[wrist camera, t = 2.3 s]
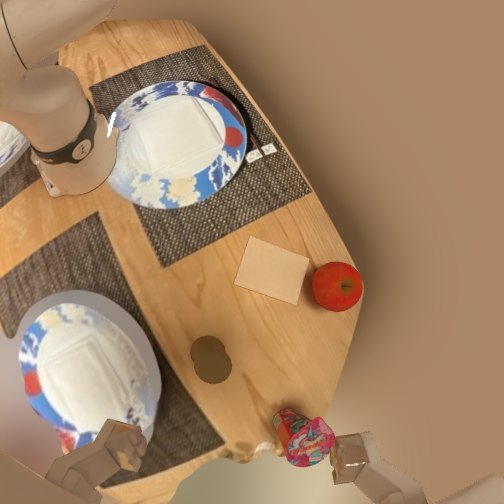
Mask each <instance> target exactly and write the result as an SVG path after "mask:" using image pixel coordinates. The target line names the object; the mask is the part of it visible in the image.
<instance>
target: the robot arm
mask: <svg viewBox="0 0 504 504" xmlns="http://www.w3.org/2000/svg"><path fill="white" fill-rule="evenodd" d="M116 2H117V0H4V1H2V3H0V121H2V122H5V123H8V124H10V125H12V126H14V127H15V128H16V129H17V130H18V131H19V132H20V133H21V134H22V135H23V136H24V137H25V138H26V139H27V140H28V141H29V142H30V145H31V148H32V155H31V157H30V158H31V160H32V162H33V163H34V164H35V165H37V169H38V170H39V172H40V174H41V176H42V179H43V181H44V183H45V186H46V188H47V190H48V192H49V194H50V196H51V197H53V198H56V197H59V196H62V195H64V194H70V195H80V194H84V193H87V192H89V191H91V190H93V189H95V188H96V187H98V186H99V185H100V184H101V183H102V182H103V181H104V180H105V179H106V178H107V177H108V175H109V174H110V172H111V171H112V169H113V167H114V164H115V161H116V141H117V138H118V135H119V130H118V128H117V127H115V126H113V122H114V119H115V115H116V114H115V112H114V113H113V116H112V119H111V122H110V124H109V123H108V122H107V120H106V118H105V116H104V115H103V114H99V113H97V112H95V110H94V108H93V106H92V104H91V103H90V101H89V100H88V99H87V98H86V97H85V94H84V92H83V89H82V86H81V84H80V81H79V78H78V76H77V75H76V73H75V72H74V71H72V70H71V69H69V68H66V67H63V66H59V65H52V66H46V67H41V68H34V69H32V68H31V67H33V66H34V65H35V64H37V63H38V62H40V61H41V60H43V59H44V58H46V57H48V56H49V55H51V54H52V53H54V52H56V51H57V50H59V49H61V48H62V47H64V46H66V45H68V44H69V43H71V42H73V41H75V40H76V39H78V38H79V37H81V36H82V35H84V34H85V33H86V32H88V31H89V30H91V29H92V28H94V27H95V26H97V25H98V24H100V23H101V22H103V21H104V20H106V19H107V18H108V17H109V16H110V14H111V13H112V11H113V9H114V7H115V5H116ZM52 186H53V188H52ZM141 432H142V430H141V428H140V427H139V426H135V425H131V424H127V423H123V422H120V421H116V420H113V419H107V420H106V421H105V423H104V425H103V427H102V428H101V430H100V432H99V434H98V436H97V437H96V439H95V441H94V443H92V442H90V443H88V444H86V445H84V446H82V447H80V448H78V449H76V450H74V451H72V452H70V453H68V454H66V455H64V456H62V457H60V458H58V459H56V460H55V461H54V463H53V464H52V466H51V467H50V469H49V471H48V473H47V474H46V476H45V478H43V477H41V476H40V475H38V474H36V473H35V472H33V471H32V470H30V469H29V468H27V467H26V466H24V465H23V464H21V463H20V462H18V461H17V460H16V459H14V458H13V457H11V456H10V455H9V454H7V453H6V452H5V451H4V450H2V449H1V448H0V504H100V502H101V499H102V495H101V494H100V493H99V492H98V491H97V490H96V489H95V487H97V486H98V485H99V484H101V483H102V482H104V481H105V480H106V479H108V478H109V477H111V476H112V475H113V474H115V473H116V472H117V471H119V470H120V469H121V468H123V469H126V470H130V471H134V472H138V470H139V467H140V465H141V462H142V461H141V459H140V457H141V456H143V455H144V454H145V452H146V447H147V442H146V438H145V437H144V436H143V435H142V434H141ZM330 463H331V466H333V467H334V470H333V472H332V475H333V480H334V484H335V485H336V484H343V483H349V482H353V483H354V484H355V485H356V486H357V487H358V488H359V489H360V490H361V491H362V492H363V493H364V494H365V495H367V497H369V498H370V499H371V500H372V501H373V502H374V503H375V504H428V503H427V500H426V497H425V495H424V492H423V490H422V486H421V484H420V483H419V482H417V481H416V480H414V479H413V478H411V477H410V476H408V475H407V474H405V473H404V472H402V471H401V470H399V469H398V468H396V467H395V466H393V465H392V464H390V463H389V462H387V461H386V460H385V459H383V460H381V458H380V455H379V452H378V449H377V446H376V443H375V440H374V437H373V435H372V433H371V432H370V431H368V432H363V433H356V434H350V435H344V436H337V437H335V439H334V445H333V446H331V450H330ZM433 504H504V477H501V476H498V475H495V474H489V475H487V476H485V477H483V478H481V479H480V480H478V481H476V482H474V483H473V484H471V485H469V486H467V487H466V488H464V489H462V490H460V491H458V492H456V493H454V494H452V495H450V496H448V497H446V498H444V499H442V500H439V501H437V502H435V503H433Z"/></svg>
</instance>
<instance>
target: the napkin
mask: <svg viewBox="0 0 504 504" xmlns="http://www.w3.org/2000/svg"><path fill="white" fill-rule="evenodd" d="M308 263H309V258H306V257H303V256H301V255H298V254H296V253H293V252H291V251H288V250H286V249H283V248H280V247H278V246H275V245H273V244H270V243H267V242H265V241H262V240H260V239H257V238H254V237H252V236H250V237H249V240H248V242H247V245H246V248H245V251H244V254H243V257H242V260H241V263H240V266H239V269H238V272H237V275H236V278H235V281H234V284H235V285H237V286H240V287H243V288H246V289H249V290H252V291H255V292H258V293H261V294H264V295H266V296H269V297H272V298H275V299H278V300H281V301H284V302H287V303H290V304H294V305H296V304H297V301H298V297H299V294H300V291H301V287H302V284H303V280H304V277H305V273H306V270H307V266H308Z"/></svg>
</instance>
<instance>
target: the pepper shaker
mask: <svg viewBox="0 0 504 504" xmlns="http://www.w3.org/2000/svg"><path fill="white" fill-rule="evenodd" d="M191 358H192V360H193V361H194V363H195V365H194V368H195V372H196V374H197V375H198V377H199V378H200V379H201V380H203V381H204V382H207V383H209V384H217V383H221V382H223V381H224V380H226V379H227V378H228V377H229V375H230V373H231V369H232V363H231V359H230V358H229V356H228V355H227V354H226V351H225V347H224V345H223V344H222V342H221V341H220V340H219V339H217V338H215V337H213V336H204V337H200V338H199V339H197V340H196V341H195V342H194V343H193V345H192V347H191Z"/></svg>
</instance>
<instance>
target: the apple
mask: <svg viewBox="0 0 504 504" xmlns="http://www.w3.org/2000/svg"><path fill="white" fill-rule="evenodd" d="M312 287H313V292H314V296H315V299H316V301H317V302H318V304H319V305H321V306H322V307H323V308H325V309H327V310H330V311H335V312H340V311H345V310H348V309H350V308H351V307H353V306H354V305H355V304H356V303H357V302H358V300H359V299H360V297H361V295H362V290H363V286H362V278H361V276H360V274H359V272H358V271H357V270H356V269H355V268H354V267H352V266H351V265H349V264H346V263H343V262H330V263H327V264H325V265H323V266H322V267H320V268H319V269H318V270H317V271H316V273H315V274H314V276H313V281H312Z"/></svg>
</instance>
